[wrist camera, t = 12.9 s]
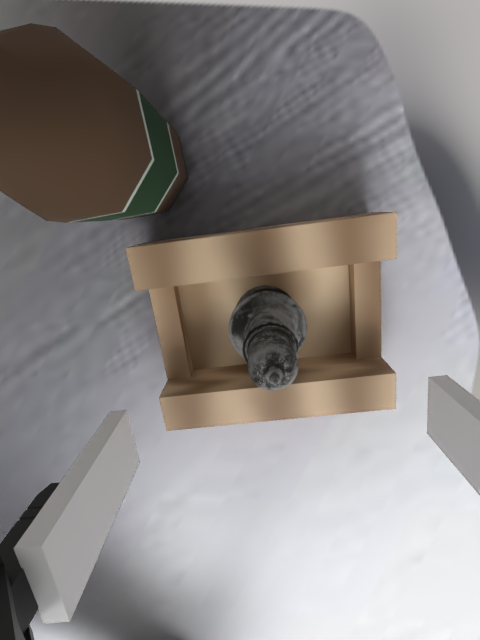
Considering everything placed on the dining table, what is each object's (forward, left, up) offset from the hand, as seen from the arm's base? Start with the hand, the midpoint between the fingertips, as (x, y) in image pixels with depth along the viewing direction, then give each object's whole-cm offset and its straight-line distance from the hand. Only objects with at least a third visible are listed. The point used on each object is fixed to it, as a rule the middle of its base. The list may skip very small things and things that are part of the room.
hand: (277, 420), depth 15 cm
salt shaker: (0, 0, -15) cm, 15 cm away
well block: (0, 0, -16) cm, 16 cm away
